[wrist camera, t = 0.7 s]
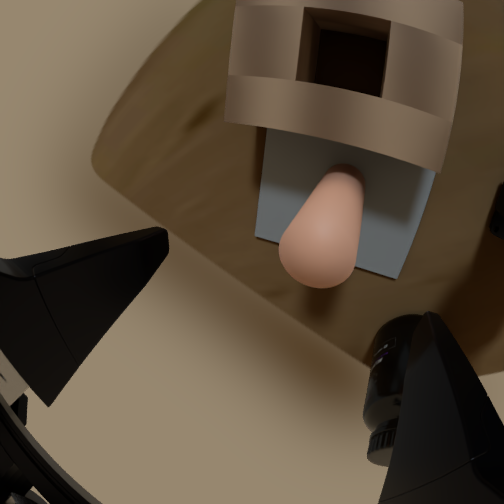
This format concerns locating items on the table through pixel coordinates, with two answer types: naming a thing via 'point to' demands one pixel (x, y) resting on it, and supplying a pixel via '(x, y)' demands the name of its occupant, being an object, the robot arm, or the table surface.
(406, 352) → the supplement bottle
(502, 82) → the table surface
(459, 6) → the socket block
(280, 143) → the mat
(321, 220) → the dowel
